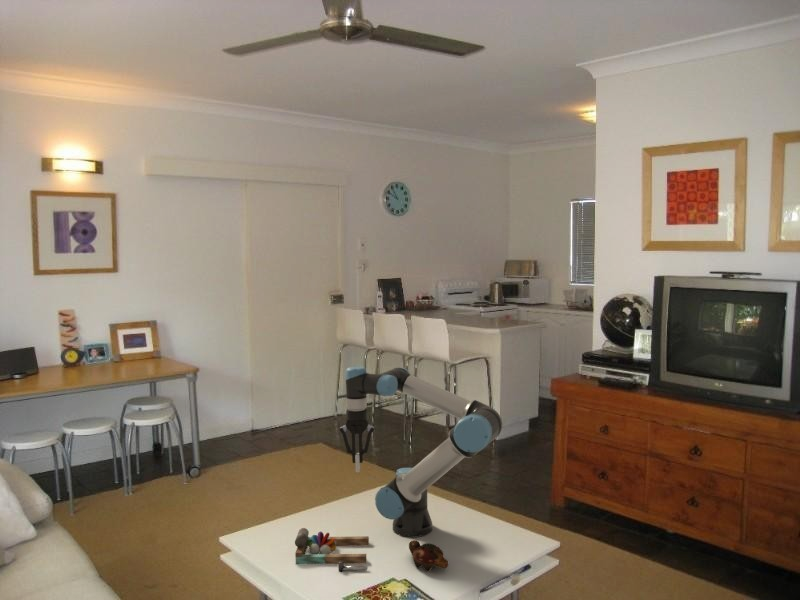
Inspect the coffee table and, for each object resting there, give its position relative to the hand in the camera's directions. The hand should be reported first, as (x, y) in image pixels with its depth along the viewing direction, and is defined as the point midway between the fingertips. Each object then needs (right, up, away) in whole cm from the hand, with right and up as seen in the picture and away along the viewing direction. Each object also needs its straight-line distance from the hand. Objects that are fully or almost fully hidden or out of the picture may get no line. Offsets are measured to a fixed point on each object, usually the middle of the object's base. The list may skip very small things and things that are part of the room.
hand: (357, 471), depth 248 cm
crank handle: (0, -26, -26) cm, 37 cm away
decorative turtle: (+25, -26, -24) cm, 44 cm away
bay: (-8, -26, -13) cm, 30 cm away
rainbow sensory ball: (-12, -26, -12) cm, 31 cm away
